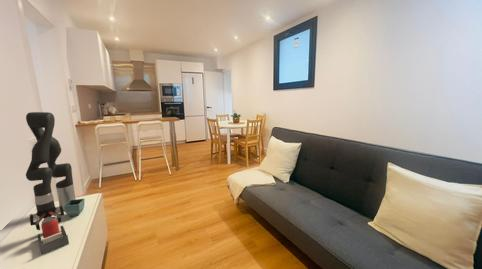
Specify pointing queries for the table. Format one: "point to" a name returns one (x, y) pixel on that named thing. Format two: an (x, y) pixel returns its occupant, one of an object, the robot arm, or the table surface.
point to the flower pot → (74, 207)
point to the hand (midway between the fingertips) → (49, 226)
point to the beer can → (50, 227)
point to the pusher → (52, 238)
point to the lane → (53, 243)
